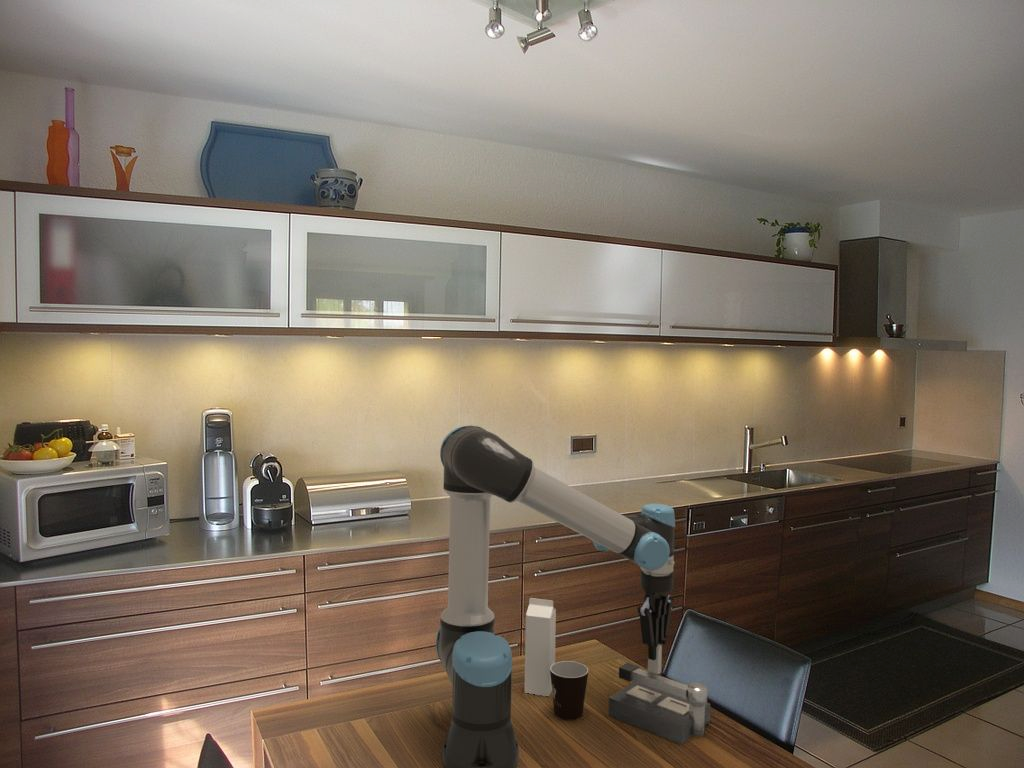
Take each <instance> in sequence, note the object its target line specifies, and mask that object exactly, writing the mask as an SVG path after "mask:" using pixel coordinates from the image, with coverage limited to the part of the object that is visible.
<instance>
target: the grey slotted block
mask: <svg viewBox="0 0 1024 768" xmlns="http://www.w3.org/2000/svg"><path fill="white" fill-rule="evenodd" d="M608 716H609V717H612V718H614V719H617V720H620V721H622V722H625V723H626V724H629V725H632V726H634V727H637V728H639V729H642V730H644V731H647V732H648V733H651V734H654V735H657V736H659V737H661V738H664V739H665V740H668V739H669V741H671V742H674V743H676V744H679V745H684V744H685V743H686V742H687V741H688V740H690V739H691V738H692V737H696V736H701V737H703V736H704V735H705V726H706V725H707V724H709V723H710V722H711V703H709V702H707V703H706V704H705V705H694V704H691V703H690V702H688V698H687V699H683V698H680V697H677V696H674V695H672V694H669V693H666V692H663V691H661V690H658V689H655V688H652V687H649V686H647V685H644V684H641V683H638V682H636V681H632V682H631V683H630V684H628V685H627V686H625V687H623V688H622V689H620V690H619V691H617V692H616V693H614V694H612V695H611V696H609V697H608ZM708 722H709V723H708ZM692 735H694V736H692ZM702 735H703V736H702ZM691 736H692V737H691ZM690 737H691V738H690Z"/></svg>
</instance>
